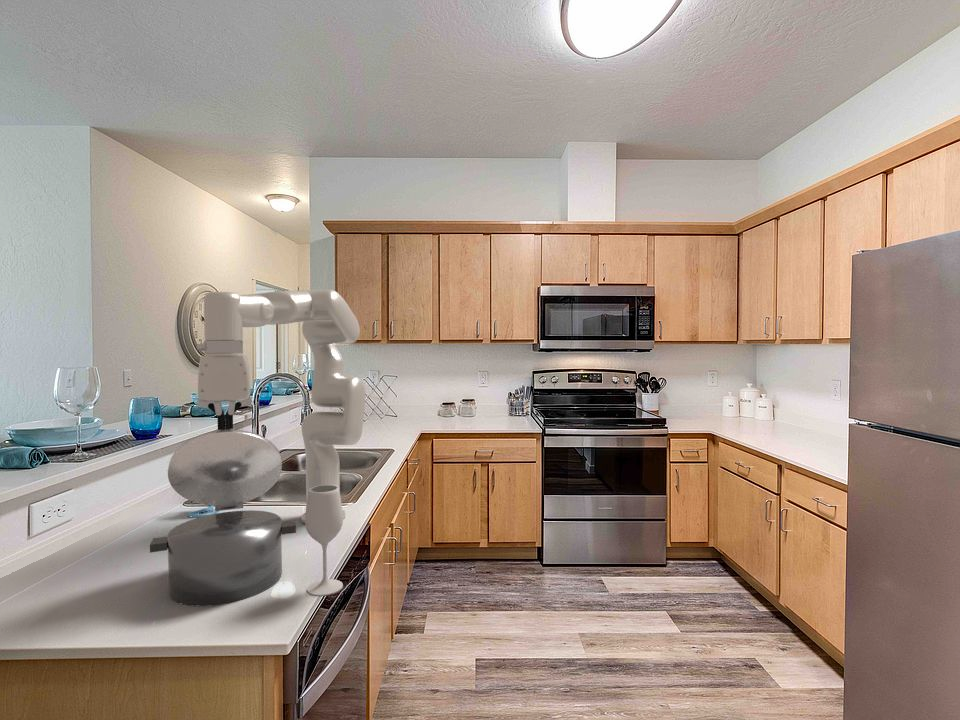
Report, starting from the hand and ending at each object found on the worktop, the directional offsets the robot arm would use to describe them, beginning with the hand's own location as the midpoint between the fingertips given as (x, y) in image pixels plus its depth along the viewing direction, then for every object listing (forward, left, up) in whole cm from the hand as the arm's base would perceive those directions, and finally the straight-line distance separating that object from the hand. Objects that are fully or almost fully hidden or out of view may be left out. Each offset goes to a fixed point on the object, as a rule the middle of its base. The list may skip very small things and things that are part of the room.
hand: (225, 432), depth 115 cm
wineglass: (+14, +19, -32) cm, 40 cm away
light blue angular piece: (-53, -8, -32) cm, 63 cm away
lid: (-3, 0, -10) cm, 11 cm away
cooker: (+2, 0, -32) cm, 32 cm away
